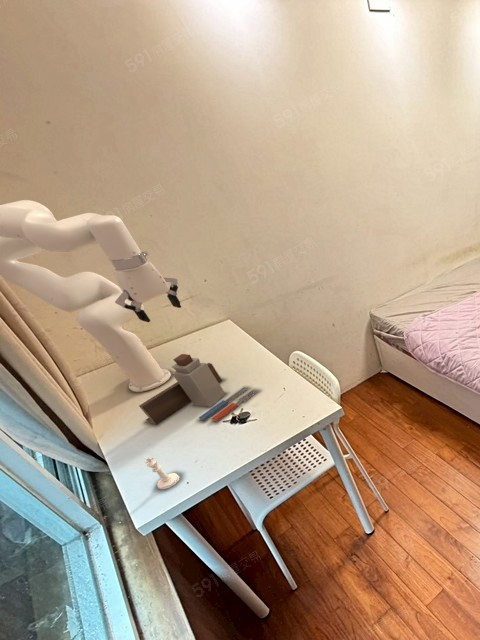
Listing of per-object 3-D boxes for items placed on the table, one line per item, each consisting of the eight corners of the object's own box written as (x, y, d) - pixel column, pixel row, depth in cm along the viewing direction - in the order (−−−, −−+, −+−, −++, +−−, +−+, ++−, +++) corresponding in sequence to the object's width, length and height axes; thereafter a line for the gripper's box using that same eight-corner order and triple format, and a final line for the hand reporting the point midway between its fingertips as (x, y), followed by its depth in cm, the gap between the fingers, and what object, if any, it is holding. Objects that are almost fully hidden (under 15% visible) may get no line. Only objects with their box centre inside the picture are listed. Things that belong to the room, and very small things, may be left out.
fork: (212, 420, 125) (210, 418, 124) (252, 390, 137) (251, 388, 136) (217, 422, 124) (216, 420, 124) (258, 392, 136) (257, 389, 135)
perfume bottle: (210, 406, 130) (181, 364, 119) (194, 404, 132) (163, 362, 121) (225, 394, 136) (198, 352, 125) (209, 392, 137) (181, 350, 126)
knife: (200, 419, 126) (198, 417, 125) (244, 388, 138) (242, 385, 137) (204, 421, 125) (203, 419, 124) (248, 389, 137) (247, 387, 137)
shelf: (147, 421, 126) (131, 403, 121) (213, 378, 143) (201, 360, 138) (156, 425, 124) (141, 406, 120) (222, 380, 142) (211, 363, 137)
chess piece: (154, 486, 105) (130, 462, 99) (171, 472, 109) (150, 448, 102) (166, 491, 103) (143, 467, 97) (183, 477, 107) (162, 453, 101)
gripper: (151, 249, 119) (181, 300, 129) (87, 271, 106) (125, 325, 117) (167, 252, 116) (196, 303, 127) (103, 275, 104) (141, 329, 114)
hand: (162, 313), depth 122 cm, fingers open, 9 cm apart
